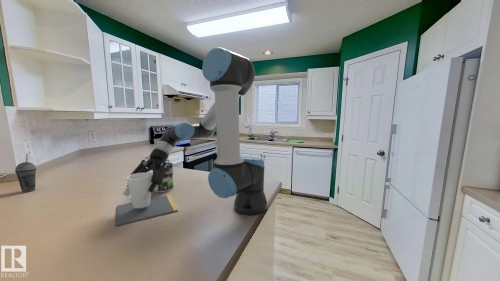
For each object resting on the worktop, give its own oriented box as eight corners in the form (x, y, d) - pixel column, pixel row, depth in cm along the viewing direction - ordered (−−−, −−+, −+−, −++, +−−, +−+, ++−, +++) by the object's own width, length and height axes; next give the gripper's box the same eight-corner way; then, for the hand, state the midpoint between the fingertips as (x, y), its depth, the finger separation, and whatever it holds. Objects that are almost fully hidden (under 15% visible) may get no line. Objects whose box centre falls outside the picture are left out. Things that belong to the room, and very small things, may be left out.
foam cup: (158, 200, 86) (156, 173, 85) (145, 210, 77) (143, 180, 75) (138, 199, 87) (137, 172, 85) (123, 209, 78) (121, 178, 76)
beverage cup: (16, 192, 99) (10, 154, 96) (36, 187, 105) (31, 152, 103) (20, 194, 96) (14, 156, 93) (41, 190, 102) (36, 153, 100)
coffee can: (177, 186, 110) (176, 162, 108) (166, 193, 100) (165, 167, 98) (161, 184, 112) (160, 161, 110) (149, 191, 102) (147, 166, 100)
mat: (177, 211, 82) (177, 209, 82) (115, 226, 70) (115, 224, 70) (169, 196, 97) (169, 194, 97) (117, 206, 85) (117, 205, 85)
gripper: (184, 158, 91) (160, 204, 78) (148, 155, 97) (121, 196, 85) (176, 149, 85) (149, 197, 72) (138, 146, 92) (108, 189, 79)
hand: (134, 197), depth 78 cm, fingers closed on foam cup, 9 cm apart
